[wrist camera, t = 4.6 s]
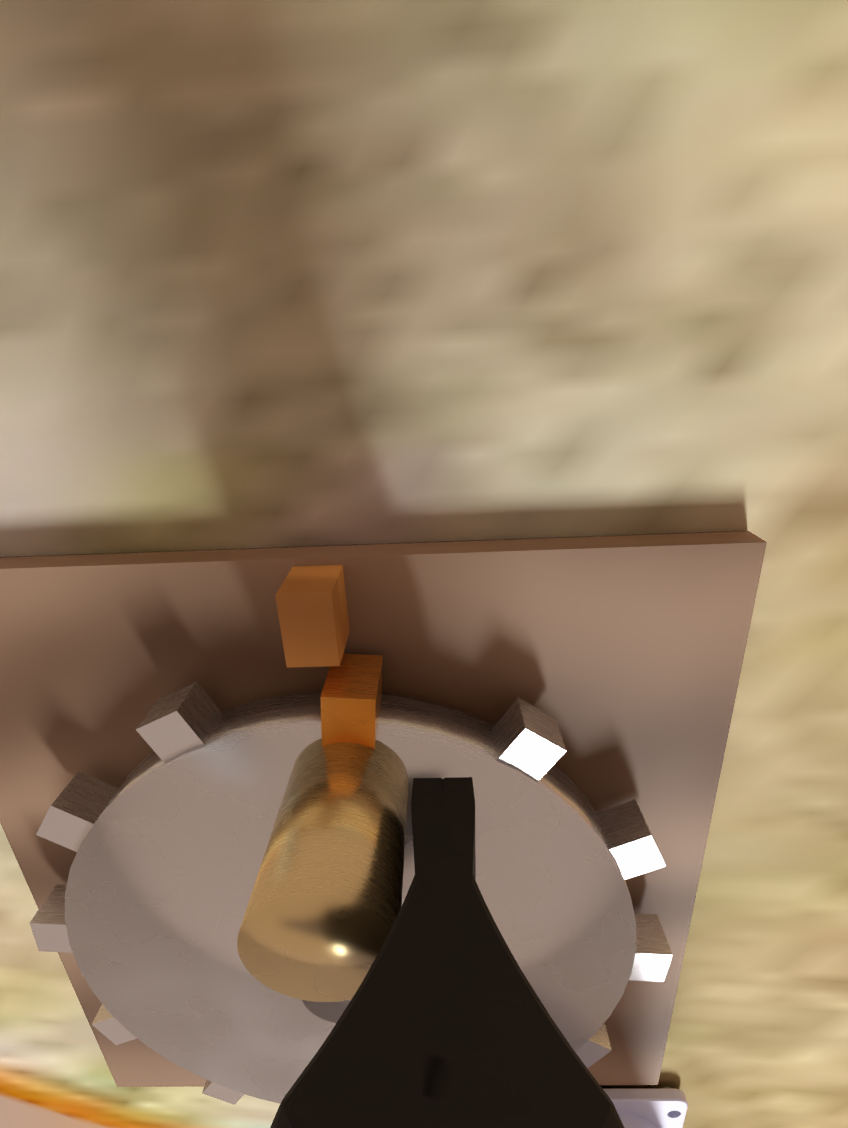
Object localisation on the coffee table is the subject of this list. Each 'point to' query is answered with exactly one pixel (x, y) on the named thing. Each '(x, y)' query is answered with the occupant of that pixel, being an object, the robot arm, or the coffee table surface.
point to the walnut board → (396, 686)
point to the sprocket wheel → (328, 872)
